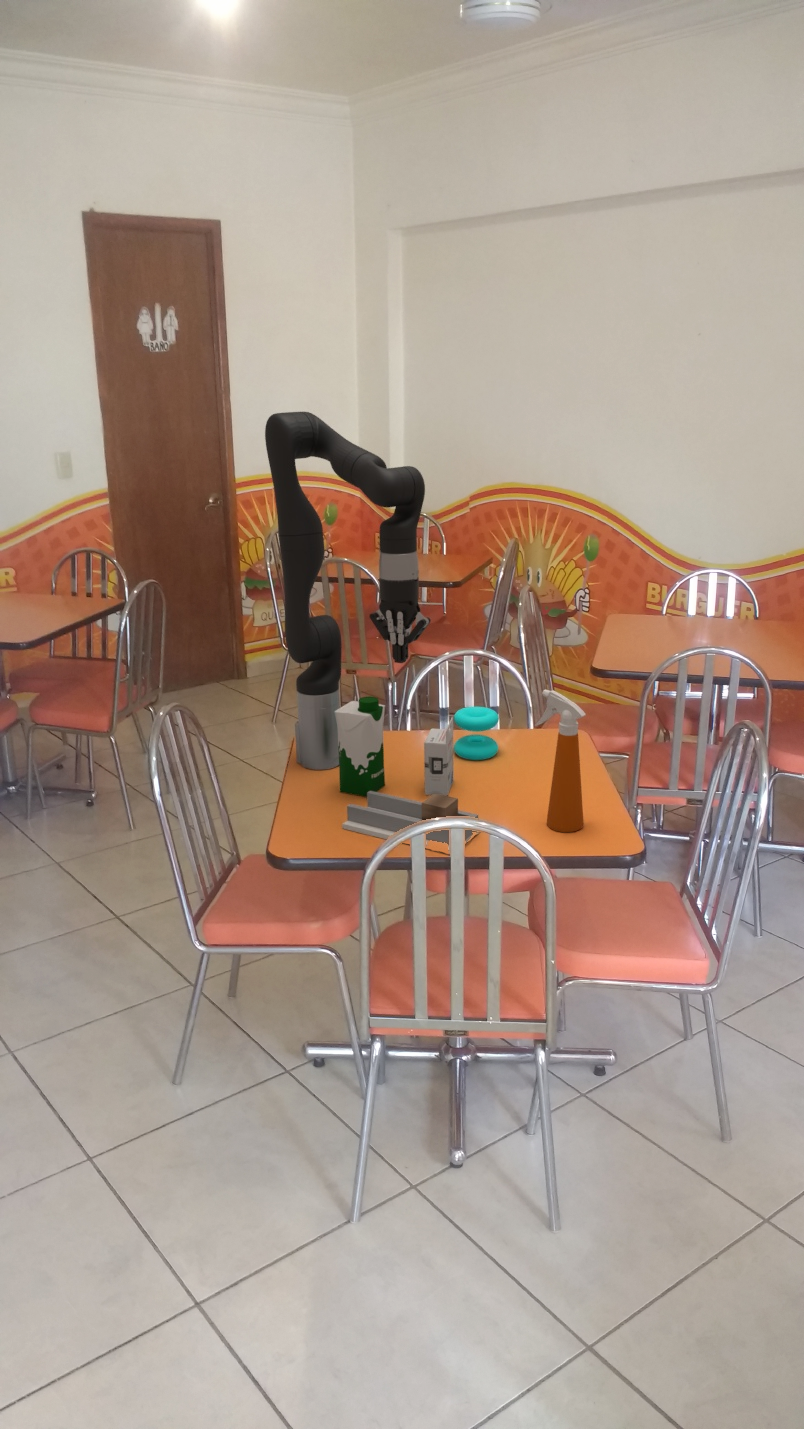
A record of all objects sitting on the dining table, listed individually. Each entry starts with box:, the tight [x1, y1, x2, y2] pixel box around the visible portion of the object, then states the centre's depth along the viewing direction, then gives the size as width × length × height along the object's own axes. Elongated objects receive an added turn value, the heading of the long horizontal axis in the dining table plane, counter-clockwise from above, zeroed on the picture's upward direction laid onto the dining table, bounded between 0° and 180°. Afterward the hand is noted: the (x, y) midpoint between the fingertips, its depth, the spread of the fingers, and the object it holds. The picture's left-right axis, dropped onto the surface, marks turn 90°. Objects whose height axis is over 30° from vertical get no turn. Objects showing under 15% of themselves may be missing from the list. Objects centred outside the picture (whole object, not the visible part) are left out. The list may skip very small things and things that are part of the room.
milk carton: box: [335, 696, 386, 798], centre depth 214 cm, size 9×9×20 cm
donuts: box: [453, 706, 499, 761], centre depth 233 cm, size 10×10×10 cm
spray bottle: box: [533, 689, 586, 833], centre depth 196 cm, size 7×11×26 cm, turn 50°
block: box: [421, 793, 459, 820], centre depth 194 cm, size 5×5×6 cm
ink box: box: [423, 716, 454, 796], centre depth 215 cm, size 9×5×15 cm, turn 168°
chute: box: [341, 791, 480, 851], centre depth 198 cm, size 24×12×4 cm, turn 59°
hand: (400, 662), depth 203 cm, fingers closed
